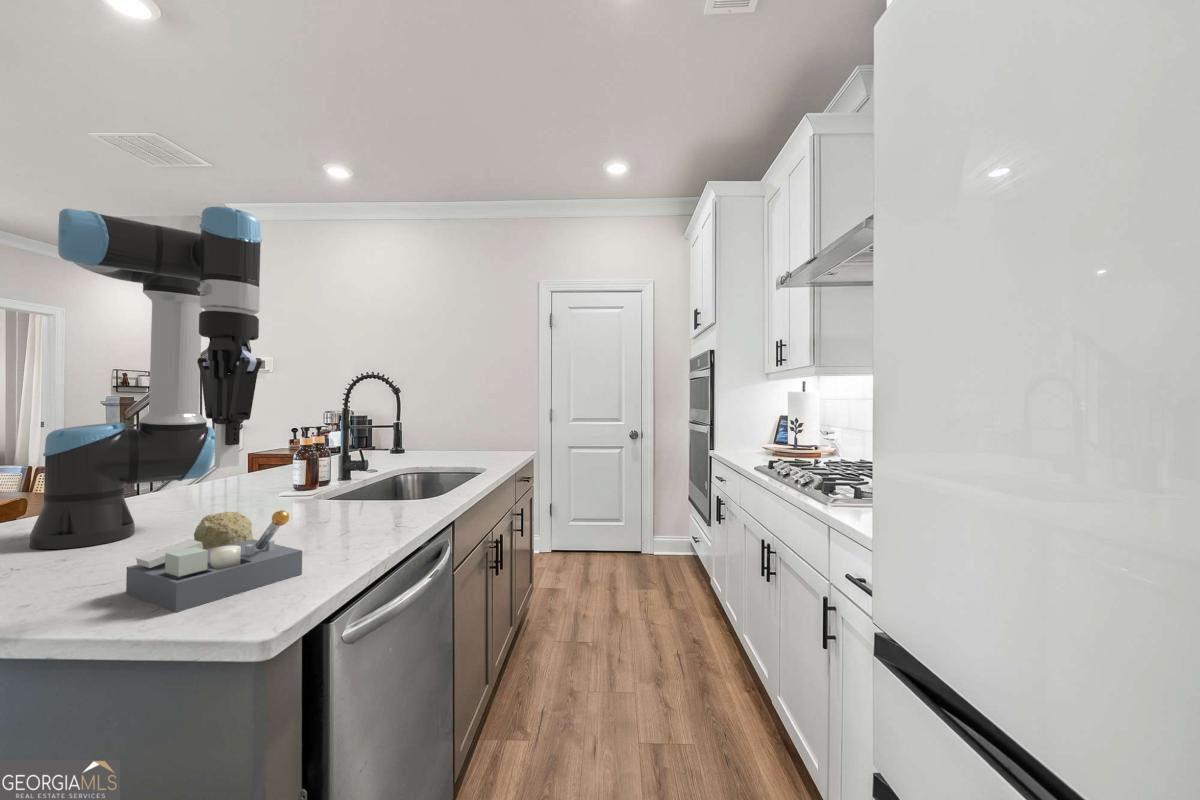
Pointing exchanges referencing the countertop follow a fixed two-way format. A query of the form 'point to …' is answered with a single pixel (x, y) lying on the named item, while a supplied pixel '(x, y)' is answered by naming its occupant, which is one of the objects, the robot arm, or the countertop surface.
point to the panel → (214, 577)
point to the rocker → (159, 555)
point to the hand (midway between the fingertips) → (226, 465)
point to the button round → (225, 557)
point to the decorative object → (223, 529)
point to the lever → (272, 528)
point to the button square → (186, 561)
